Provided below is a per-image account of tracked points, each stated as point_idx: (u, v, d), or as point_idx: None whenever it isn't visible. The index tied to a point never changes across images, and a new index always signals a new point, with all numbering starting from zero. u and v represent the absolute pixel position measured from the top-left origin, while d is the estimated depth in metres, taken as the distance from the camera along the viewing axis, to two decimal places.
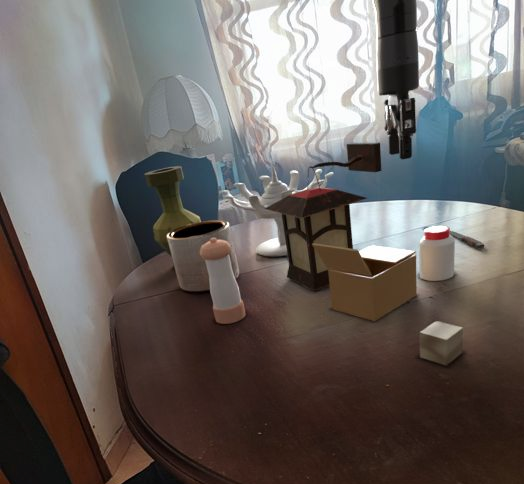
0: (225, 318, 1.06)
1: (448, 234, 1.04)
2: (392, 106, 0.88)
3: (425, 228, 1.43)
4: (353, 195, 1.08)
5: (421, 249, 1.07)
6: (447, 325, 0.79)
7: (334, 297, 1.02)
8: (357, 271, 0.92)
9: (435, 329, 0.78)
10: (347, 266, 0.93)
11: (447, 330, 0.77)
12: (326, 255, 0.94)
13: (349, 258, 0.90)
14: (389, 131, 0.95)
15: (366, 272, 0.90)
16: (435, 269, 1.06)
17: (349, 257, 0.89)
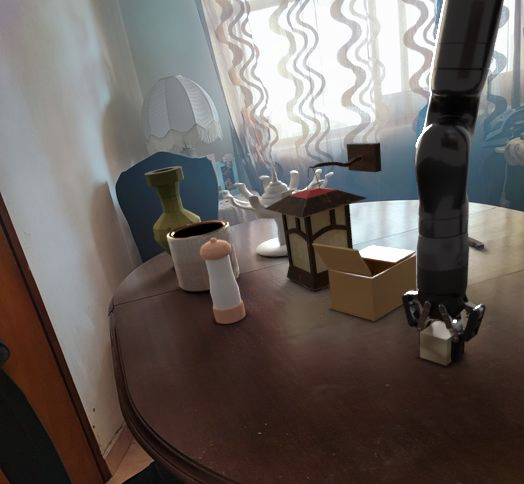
0: (225, 318, 1.06)
1: None
2: (445, 305, 0.73)
3: None
4: (353, 195, 1.08)
5: None
6: None
7: (334, 297, 1.02)
8: (357, 271, 0.92)
9: (435, 329, 0.78)
10: (347, 266, 0.93)
11: (447, 330, 0.77)
12: (326, 255, 0.94)
13: (349, 258, 0.90)
14: (424, 328, 0.79)
15: (366, 272, 0.90)
16: None
17: (349, 257, 0.89)
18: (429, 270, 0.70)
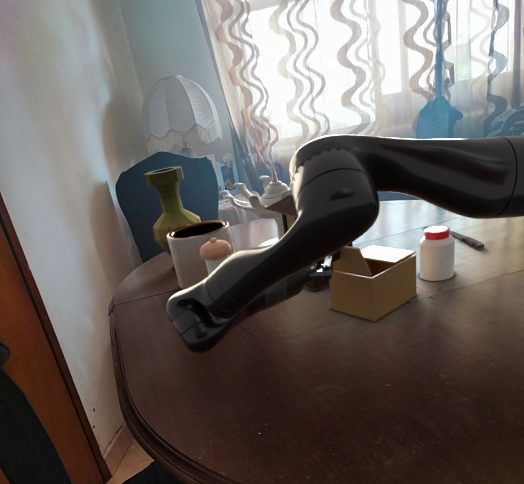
0: None
1: (448, 234, 1.04)
2: None
3: (425, 228, 1.43)
4: None
5: (421, 249, 1.07)
6: None
7: (334, 297, 1.02)
8: (357, 271, 0.92)
9: None
10: (347, 265, 0.93)
11: None
12: None
13: (350, 257, 0.90)
14: None
15: (367, 271, 0.90)
16: (435, 269, 1.06)
17: (350, 256, 0.90)
18: None
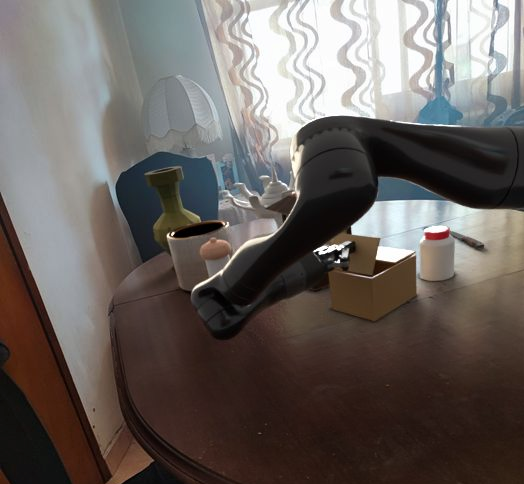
0: None
1: (448, 234, 1.04)
2: None
3: (425, 228, 1.43)
4: None
5: (421, 249, 1.07)
6: None
7: (334, 297, 1.02)
8: (359, 269, 0.93)
9: None
10: (353, 262, 0.94)
11: None
12: None
13: (363, 249, 0.92)
14: None
15: (370, 269, 0.91)
16: (435, 269, 1.06)
17: (364, 248, 0.92)
18: None
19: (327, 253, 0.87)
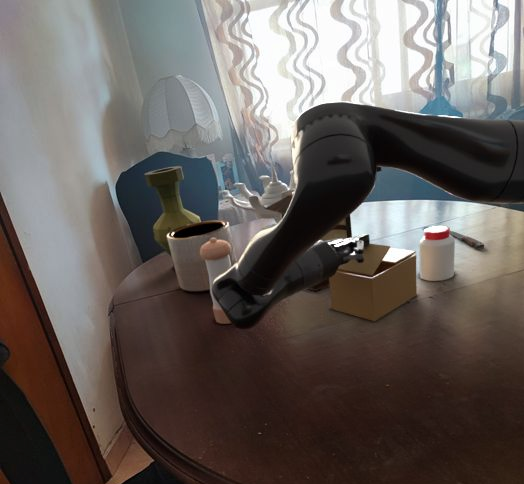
0: (225, 318, 1.06)
1: (448, 234, 1.04)
2: None
3: (425, 228, 1.43)
4: None
5: (421, 249, 1.07)
6: None
7: (334, 297, 1.02)
8: (361, 269, 0.93)
9: None
10: (356, 263, 0.95)
11: None
12: None
13: (370, 254, 0.94)
14: None
15: (372, 269, 0.91)
16: (435, 269, 1.06)
17: (372, 253, 0.94)
18: None
19: (343, 245, 0.89)
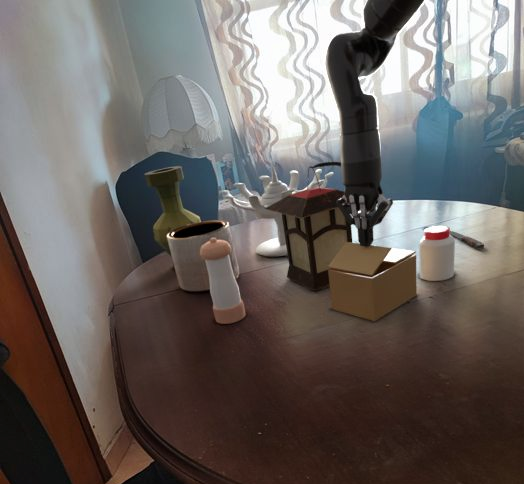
0: (225, 318, 1.06)
1: (448, 234, 1.04)
2: (364, 196, 0.89)
3: (425, 228, 1.43)
4: None
5: (421, 249, 1.07)
6: None
7: (334, 297, 1.02)
8: (361, 269, 0.93)
9: None
10: (356, 264, 0.95)
11: None
12: (347, 252, 0.98)
13: (371, 255, 0.94)
14: (360, 222, 0.94)
15: (372, 270, 0.91)
16: (435, 269, 1.06)
17: (373, 254, 0.94)
18: (348, 163, 0.86)
19: None
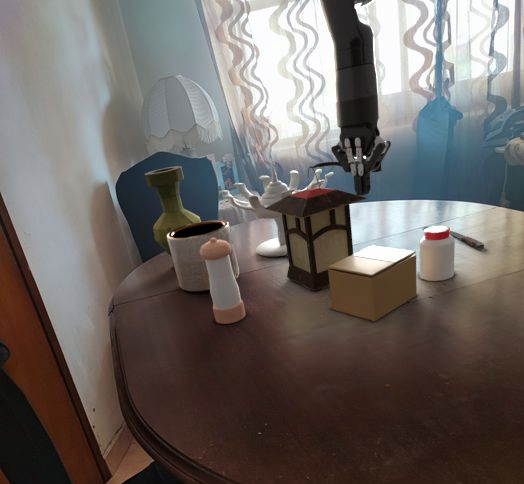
0: (225, 318, 1.06)
1: (448, 234, 1.04)
2: (360, 138, 0.84)
3: (425, 228, 1.43)
4: (353, 195, 1.08)
5: (421, 249, 1.07)
6: None
7: (334, 297, 1.02)
8: (362, 271, 0.93)
9: None
10: (357, 267, 0.95)
11: None
12: (350, 261, 1.00)
13: (374, 264, 0.95)
14: (356, 168, 0.89)
15: (373, 272, 0.92)
16: (435, 269, 1.06)
17: (375, 264, 0.95)
18: (343, 101, 0.81)
19: None
